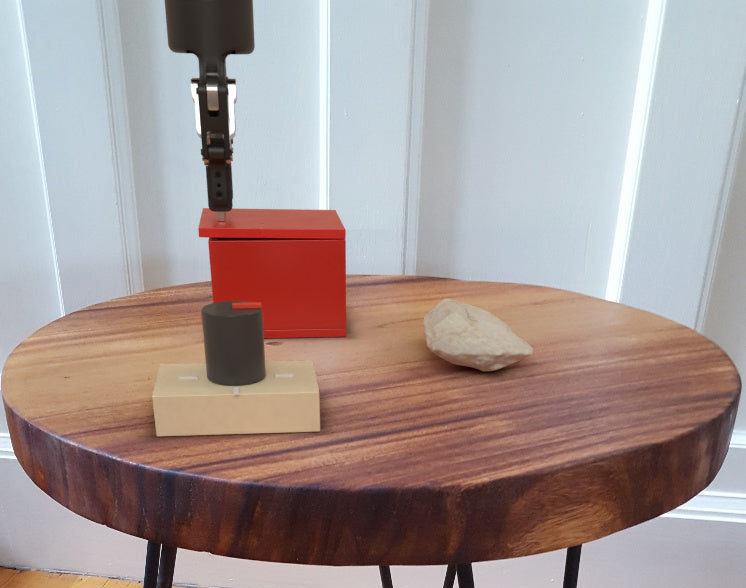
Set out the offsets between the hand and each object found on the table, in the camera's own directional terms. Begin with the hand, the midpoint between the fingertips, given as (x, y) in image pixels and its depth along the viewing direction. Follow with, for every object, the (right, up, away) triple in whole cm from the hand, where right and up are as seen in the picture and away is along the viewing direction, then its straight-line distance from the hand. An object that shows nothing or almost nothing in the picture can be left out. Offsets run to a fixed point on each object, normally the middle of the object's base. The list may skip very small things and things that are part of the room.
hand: (221, 205), depth 91 cm
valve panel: (+4, -24, -17) cm, 30 cm away
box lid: (+5, -1, +2) cm, 5 cm away
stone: (+23, -16, -3) cm, 28 cm away
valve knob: (+4, -22, -19) cm, 29 cm away
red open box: (+5, -9, +7) cm, 12 cm away
